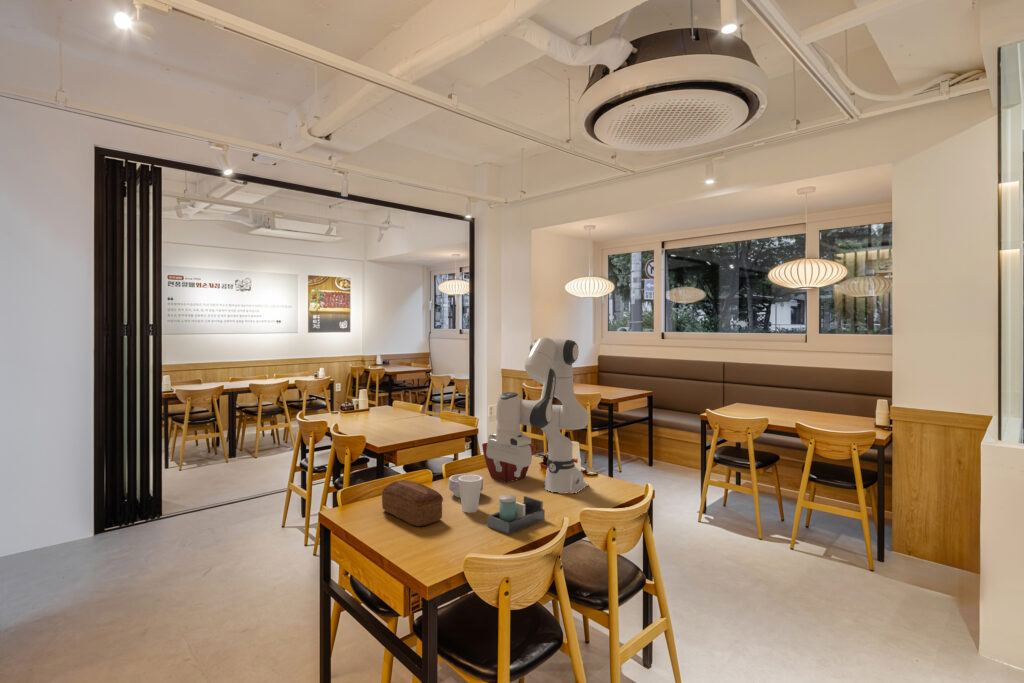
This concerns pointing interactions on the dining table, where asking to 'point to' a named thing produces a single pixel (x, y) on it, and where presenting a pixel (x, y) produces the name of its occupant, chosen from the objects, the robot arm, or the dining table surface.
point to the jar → (507, 508)
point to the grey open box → (532, 516)
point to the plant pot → (504, 467)
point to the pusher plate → (520, 510)
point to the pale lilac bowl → (455, 484)
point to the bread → (412, 502)
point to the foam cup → (470, 492)
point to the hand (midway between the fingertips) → (507, 474)
